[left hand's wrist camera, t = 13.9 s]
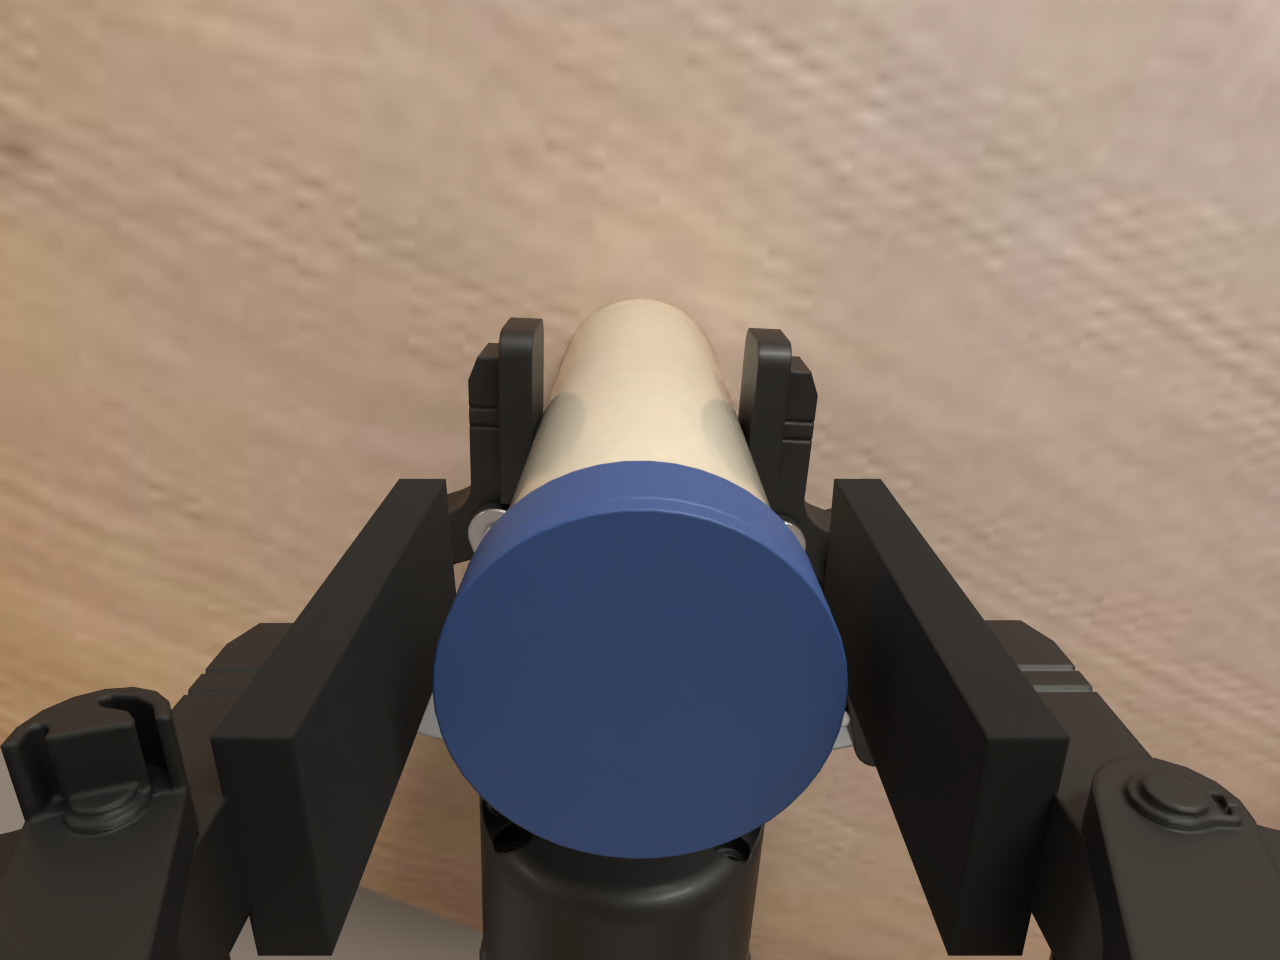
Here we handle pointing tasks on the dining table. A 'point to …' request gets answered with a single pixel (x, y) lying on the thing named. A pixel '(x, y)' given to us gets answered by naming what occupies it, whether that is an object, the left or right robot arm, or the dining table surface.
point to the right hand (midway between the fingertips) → (647, 333)
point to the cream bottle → (639, 401)
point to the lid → (639, 663)
